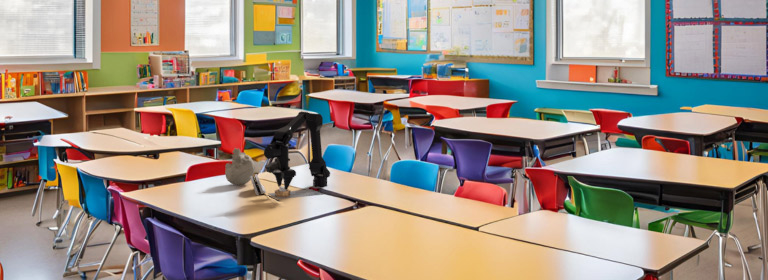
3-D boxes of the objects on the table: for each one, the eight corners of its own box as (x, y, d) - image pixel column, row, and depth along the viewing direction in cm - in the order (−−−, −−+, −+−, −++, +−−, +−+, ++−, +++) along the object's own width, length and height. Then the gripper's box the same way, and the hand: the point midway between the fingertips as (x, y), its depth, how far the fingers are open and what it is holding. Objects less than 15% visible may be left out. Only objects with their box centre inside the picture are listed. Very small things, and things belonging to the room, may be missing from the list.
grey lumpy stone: (222, 184, 379) (221, 147, 377) (248, 181, 388) (248, 145, 385) (232, 188, 369) (232, 150, 366) (258, 185, 378) (258, 148, 375)
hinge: (266, 195, 355) (259, 176, 353) (257, 198, 354) (250, 179, 352) (264, 188, 371) (258, 170, 369) (256, 191, 370) (249, 173, 368)
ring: (286, 193, 354) (286, 188, 354) (292, 195, 348) (292, 191, 348) (273, 194, 350) (273, 189, 350) (278, 197, 344) (278, 192, 344)
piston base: (311, 191, 365) (311, 181, 364) (324, 196, 353) (324, 186, 352) (267, 196, 352) (267, 185, 352) (278, 201, 341) (278, 190, 340)
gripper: (259, 154, 350) (259, 186, 352) (274, 160, 334) (274, 193, 337) (280, 153, 356) (280, 184, 358) (296, 158, 340) (296, 190, 342)
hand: (282, 188), depth 349 cm, fingers open, 8 cm apart
